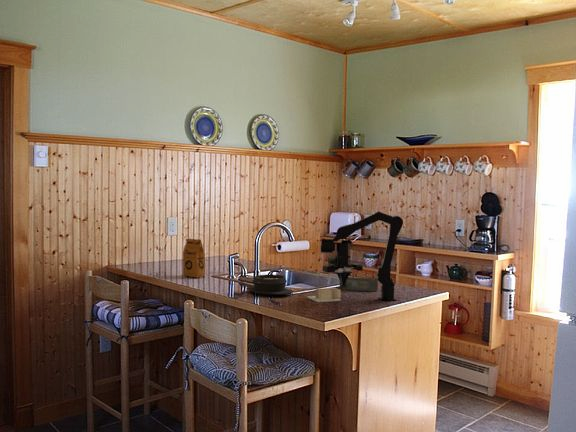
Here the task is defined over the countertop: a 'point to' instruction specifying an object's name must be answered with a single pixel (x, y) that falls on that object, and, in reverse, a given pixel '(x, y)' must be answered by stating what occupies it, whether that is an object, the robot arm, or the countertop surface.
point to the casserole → (269, 285)
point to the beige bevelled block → (328, 293)
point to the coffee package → (193, 258)
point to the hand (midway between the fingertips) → (342, 286)
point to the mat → (322, 300)
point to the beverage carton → (360, 284)
